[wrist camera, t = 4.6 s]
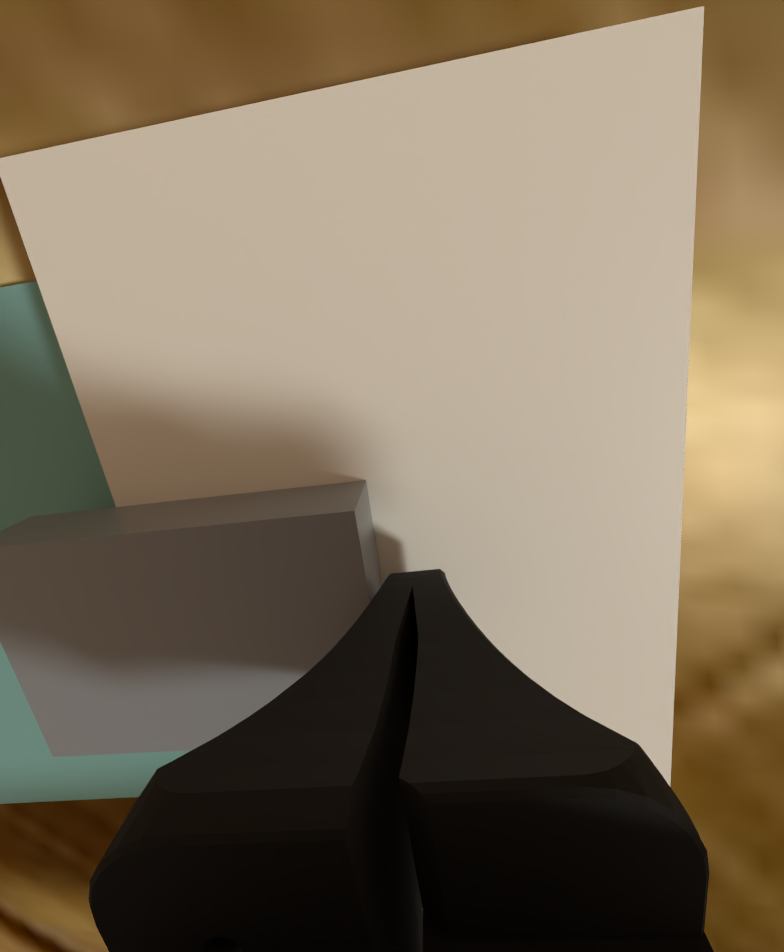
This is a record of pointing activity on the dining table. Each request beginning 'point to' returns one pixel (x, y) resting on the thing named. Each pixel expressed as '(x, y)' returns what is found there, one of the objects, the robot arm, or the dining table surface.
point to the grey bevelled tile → (179, 611)
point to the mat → (41, 493)
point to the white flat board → (417, 328)
